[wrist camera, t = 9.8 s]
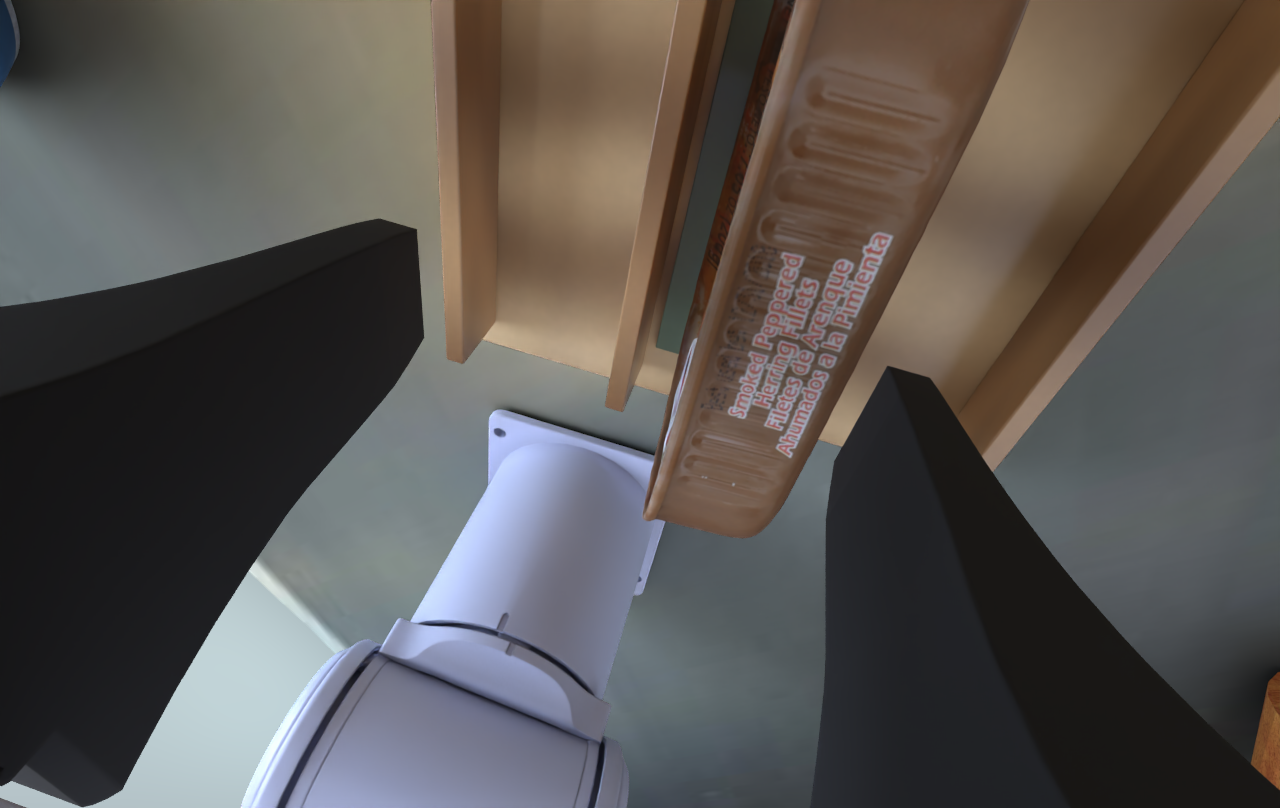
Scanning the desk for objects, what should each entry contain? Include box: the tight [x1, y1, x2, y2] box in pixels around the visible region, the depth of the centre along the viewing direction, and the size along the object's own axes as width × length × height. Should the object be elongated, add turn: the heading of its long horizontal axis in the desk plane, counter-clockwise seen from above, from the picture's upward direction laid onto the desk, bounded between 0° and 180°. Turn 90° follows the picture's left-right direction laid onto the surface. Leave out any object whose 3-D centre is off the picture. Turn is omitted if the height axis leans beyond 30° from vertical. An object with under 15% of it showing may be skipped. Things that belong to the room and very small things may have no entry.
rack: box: [431, 0, 1280, 472], centre depth 16 cm, size 18×17×4 cm
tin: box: [642, 0, 1030, 538], centre depth 13 cm, size 15×3×8 cm, turn 170°
